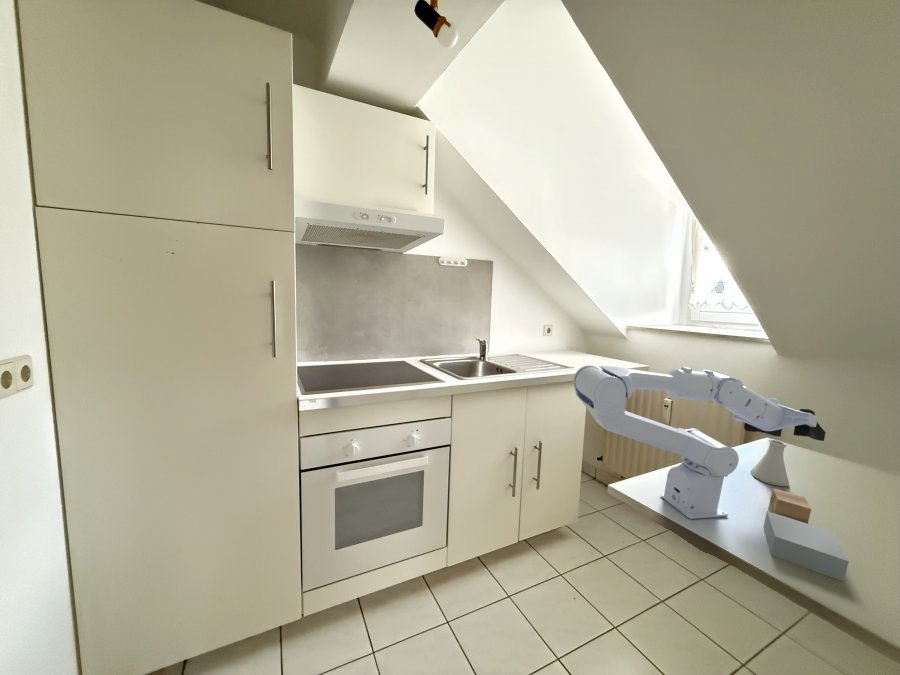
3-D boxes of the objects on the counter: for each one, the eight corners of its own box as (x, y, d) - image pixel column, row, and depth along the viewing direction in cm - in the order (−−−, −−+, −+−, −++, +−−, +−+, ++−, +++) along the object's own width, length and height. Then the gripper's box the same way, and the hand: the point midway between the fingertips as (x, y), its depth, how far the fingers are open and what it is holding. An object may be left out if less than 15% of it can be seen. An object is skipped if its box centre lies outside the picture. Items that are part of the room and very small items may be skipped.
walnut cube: (805, 532, 70) (811, 508, 70) (772, 521, 73) (777, 498, 72) (799, 518, 74) (804, 497, 74) (767, 509, 77) (772, 488, 76)
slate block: (842, 583, 58) (848, 561, 58) (770, 556, 63) (775, 536, 63) (826, 551, 66) (831, 531, 65) (762, 529, 71) (767, 511, 70)
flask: (796, 489, 86) (805, 451, 84) (762, 484, 87) (770, 446, 86) (775, 474, 93) (784, 438, 91) (744, 469, 94) (752, 434, 93)
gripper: (796, 388, 68) (847, 418, 70) (721, 389, 82) (766, 414, 84) (789, 423, 66) (842, 453, 68) (714, 418, 80) (760, 443, 82)
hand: (800, 434), depth 76 cm, fingers open, 7 cm apart
